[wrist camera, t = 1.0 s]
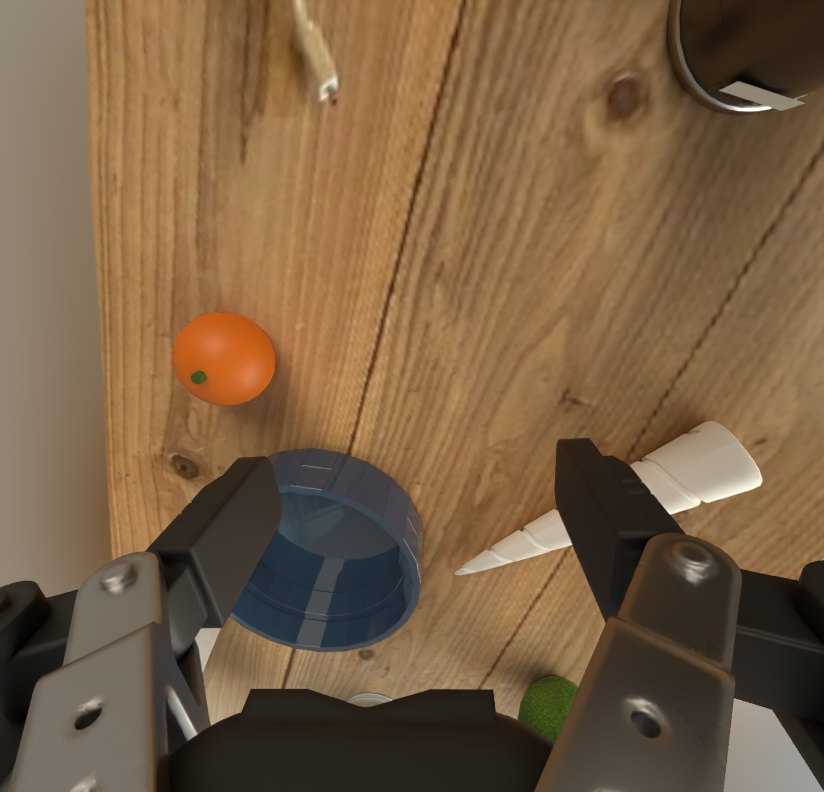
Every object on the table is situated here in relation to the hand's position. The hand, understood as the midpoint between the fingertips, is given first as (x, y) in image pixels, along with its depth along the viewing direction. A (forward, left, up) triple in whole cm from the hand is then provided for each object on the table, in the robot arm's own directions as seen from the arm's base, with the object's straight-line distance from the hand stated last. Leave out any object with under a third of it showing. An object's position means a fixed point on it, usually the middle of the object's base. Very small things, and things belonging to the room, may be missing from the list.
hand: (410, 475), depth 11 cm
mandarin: (+3, -13, -14) cm, 19 cm away
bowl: (+19, -7, -17) cm, 26 cm away
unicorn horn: (+13, +14, -17) cm, 26 cm away
